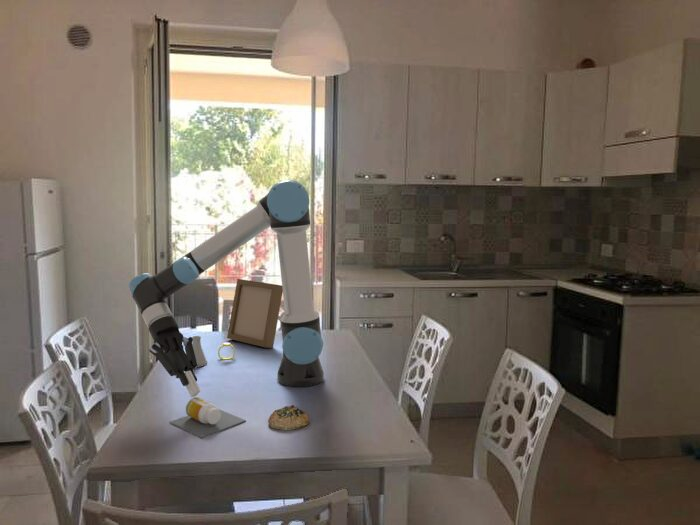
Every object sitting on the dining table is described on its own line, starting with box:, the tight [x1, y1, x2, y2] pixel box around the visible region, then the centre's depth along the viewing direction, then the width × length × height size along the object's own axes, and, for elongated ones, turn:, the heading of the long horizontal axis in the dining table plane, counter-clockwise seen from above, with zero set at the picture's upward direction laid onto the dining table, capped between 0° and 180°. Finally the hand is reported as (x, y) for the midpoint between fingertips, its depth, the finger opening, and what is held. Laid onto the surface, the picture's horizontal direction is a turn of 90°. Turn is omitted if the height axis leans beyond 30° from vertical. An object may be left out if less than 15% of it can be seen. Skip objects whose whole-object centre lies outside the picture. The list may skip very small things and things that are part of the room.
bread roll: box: [268, 404, 310, 431], centre depth 151 cm, size 11×11×5 cm
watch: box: [217, 342, 236, 361], centre depth 206 cm, size 6×3×6 cm, turn 103°
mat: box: [169, 408, 247, 439], centre depth 150 cm, size 14×14×1 cm
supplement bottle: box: [185, 396, 221, 424], centre depth 149 cm, size 5×5×10 cm
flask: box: [191, 335, 208, 368], centre depth 199 cm, size 7×7×10 cm
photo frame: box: [226, 278, 283, 349], centre depth 230 cm, size 15×22×25 cm
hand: (195, 394), depth 152 cm, fingers closed
